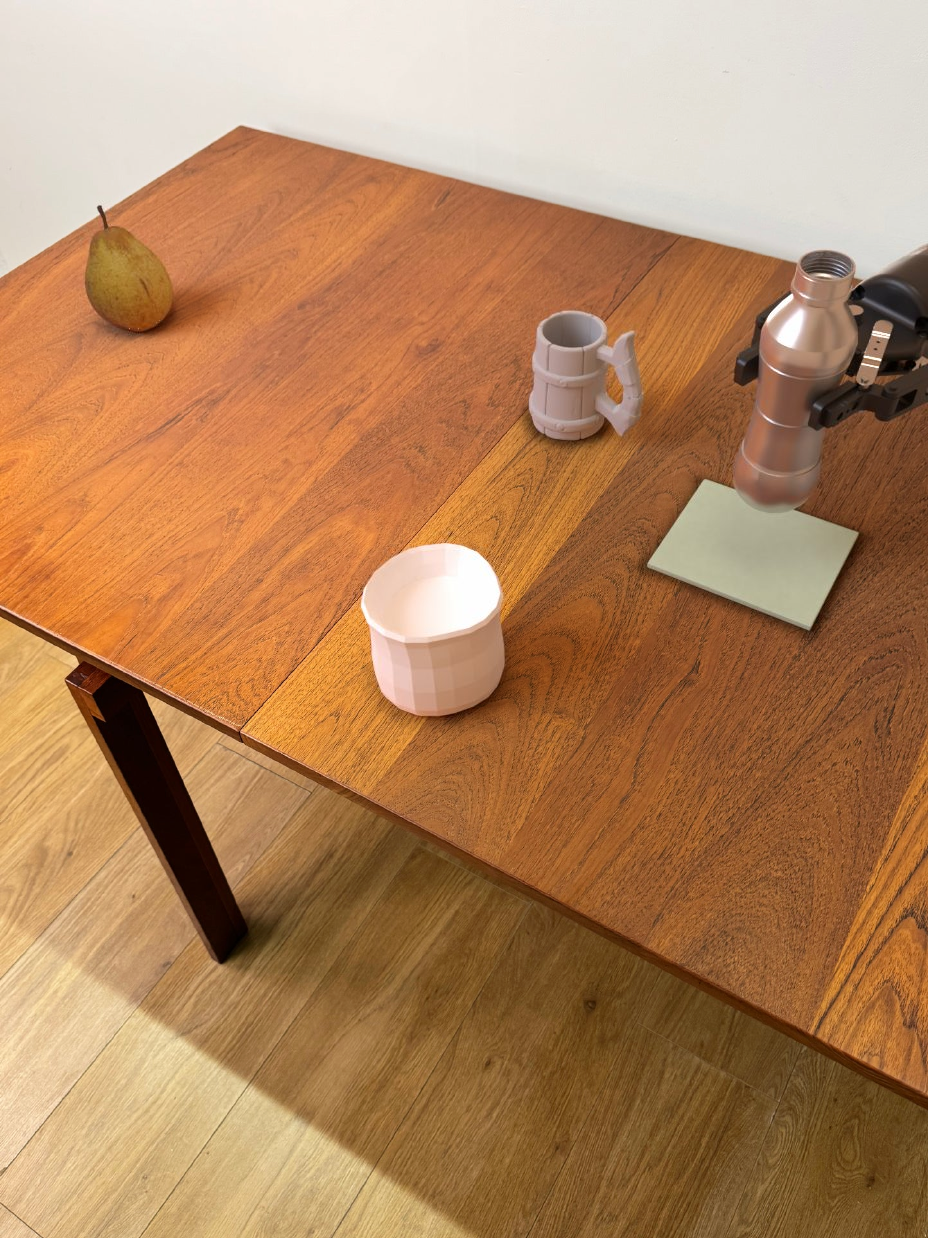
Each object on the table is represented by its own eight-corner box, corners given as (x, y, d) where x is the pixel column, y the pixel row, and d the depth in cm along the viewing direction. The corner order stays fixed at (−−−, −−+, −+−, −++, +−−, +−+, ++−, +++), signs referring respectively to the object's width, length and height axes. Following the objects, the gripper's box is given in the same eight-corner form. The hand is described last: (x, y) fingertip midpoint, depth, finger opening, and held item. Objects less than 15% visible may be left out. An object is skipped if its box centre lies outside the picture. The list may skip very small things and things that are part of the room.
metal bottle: (824, 481, 79) (893, 250, 64) (795, 535, 76) (861, 304, 60) (746, 457, 82) (795, 228, 66) (715, 508, 78) (759, 279, 63)
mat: (857, 536, 85) (859, 532, 84) (809, 631, 78) (811, 627, 78) (703, 482, 90) (704, 478, 90) (646, 567, 84) (647, 563, 83)
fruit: (165, 343, 108) (132, 239, 99) (86, 338, 109) (47, 235, 100) (191, 298, 113) (162, 196, 104) (116, 294, 115) (81, 193, 105)
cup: (529, 665, 78) (530, 581, 70) (442, 748, 73) (433, 667, 65) (439, 606, 82) (431, 520, 74) (352, 681, 77) (334, 598, 70)
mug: (560, 383, 100) (564, 275, 91) (659, 430, 95) (674, 320, 86) (512, 421, 97) (511, 313, 88) (612, 472, 91) (622, 362, 82)
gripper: (991, 386, 75) (846, 488, 68) (835, 305, 82) (691, 391, 76) (1029, 297, 69) (874, 400, 63) (857, 219, 76) (704, 304, 70)
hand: (775, 394), depth 69 cm, fingers closed on metal bottle, 6 cm apart
